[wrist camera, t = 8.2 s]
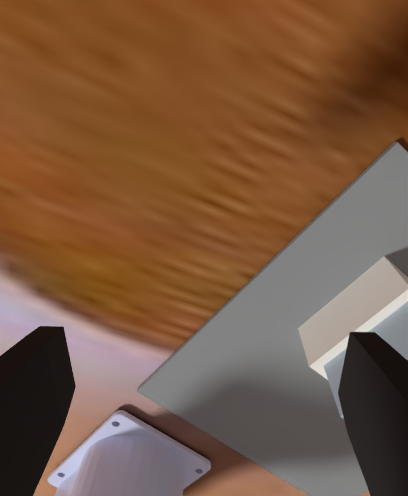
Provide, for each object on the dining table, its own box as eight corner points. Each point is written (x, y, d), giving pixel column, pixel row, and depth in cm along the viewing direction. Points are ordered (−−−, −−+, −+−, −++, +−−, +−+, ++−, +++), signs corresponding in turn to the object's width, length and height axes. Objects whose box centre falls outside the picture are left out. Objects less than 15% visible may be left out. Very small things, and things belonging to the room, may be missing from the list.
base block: (368, 381, 23) (388, 423, 21) (297, 328, 22) (309, 366, 19) (455, 320, 21) (490, 358, 18) (383, 255, 20) (410, 287, 17)
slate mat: (332, 506, 29) (333, 510, 29) (137, 387, 25) (137, 391, 24) (599, 349, 22) (604, 353, 22) (395, 140, 17) (397, 142, 17)
